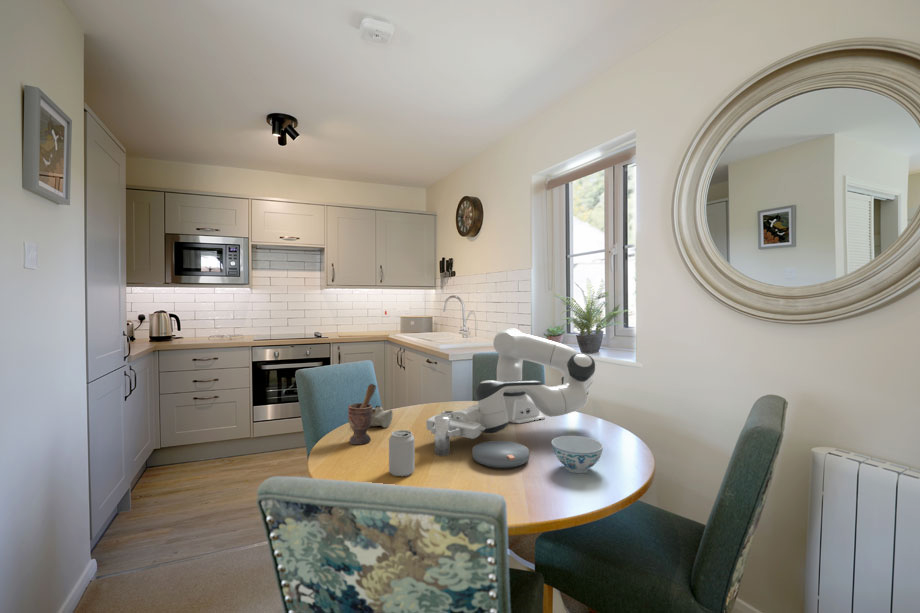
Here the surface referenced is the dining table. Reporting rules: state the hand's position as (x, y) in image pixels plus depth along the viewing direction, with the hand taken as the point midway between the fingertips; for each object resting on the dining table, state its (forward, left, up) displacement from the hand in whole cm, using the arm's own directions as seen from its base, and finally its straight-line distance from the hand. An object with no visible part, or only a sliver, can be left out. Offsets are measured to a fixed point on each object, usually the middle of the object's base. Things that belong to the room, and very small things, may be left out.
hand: (440, 432), depth 142 cm
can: (+15, +11, -7) cm, 20 cm away
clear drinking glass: (-1, -1, -7) cm, 7 cm away
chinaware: (-36, +25, -7) cm, 44 cm away
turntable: (-17, +11, -6) cm, 21 cm away
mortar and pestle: (+23, -23, -7) cm, 33 cm away
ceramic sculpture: (+16, -39, -7) cm, 43 cm away
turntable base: (-17, +11, -7) cm, 21 cm away
